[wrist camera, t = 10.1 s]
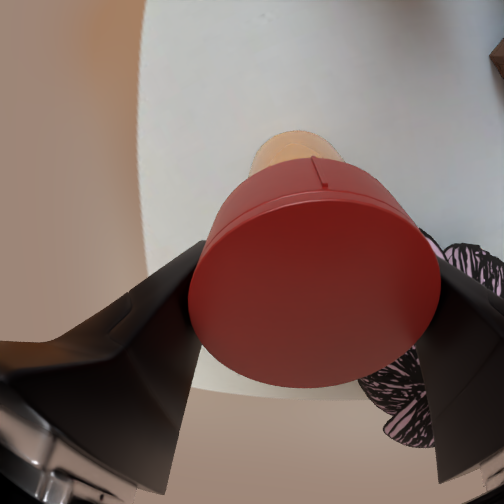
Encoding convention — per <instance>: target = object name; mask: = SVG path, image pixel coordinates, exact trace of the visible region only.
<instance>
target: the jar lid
mask: <svg viewBox="0 0 504 504" xmlns="http://www.w3.org/2000/svg"><path fill="white" fill-rule="evenodd" d="M440 291H441V276H440V268H439V264H438V261H437V258H436V255H435V253H434V251H433V249H432V247H431V245H430V244H429V242H428V240H427V239H426V238H425V236H424V235H423V234H422V232H421V231H420V230H419V228H418V227H417V226H416V224H415V223H414V222H413V220H412V219H411V218H410V217H409V215H408V214H407V213H406V212H405V210H404V209H403V208H402V207H401V206H400V204H399V203H398V202H397V201H396V199H395V198H394V197H393V196H392V195H391V194H390V192H389V191H388V190H387V189H386V188H385V187H384V186H383V185H382V184H381V183H380V182H379V181H378V180H377V179H375V178H374V177H373V176H371V175H370V174H369V173H367V172H365V171H363V170H361V169H360V168H358V167H356V166H353V165H350V164H347V163H345V162H341V161H337V160H332V159H325V158H316V157H315V156H311V158H301V159H294V160H289V161H284V162H280V163H278V164H275V165H272V166H269V167H267V168H265V169H263V170H261V171H259V172H257V173H255V174H254V175H252V176H251V177H249V178H248V179H246V180H245V181H244V182H242V183H241V184H240V185H239V186H238V187H237V188H236V189H235V190H234V191H233V192H232V193H231V194H230V195H229V197H228V198H227V199H226V201H225V202H224V203H223V205H222V207H221V208H220V210H219V212H218V214H217V216H216V218H215V221H214V223H213V226H212V228H211V231H210V233H209V236H208V238H207V241H206V243H205V246H204V248H203V251H202V253H201V256H200V258H199V261H198V263H197V266H196V268H195V271H194V274H193V277H192V280H191V283H190V286H189V293H188V311H189V316H190V320H191V324H192V326H193V329H194V331H195V334H196V335H197V337H198V339H199V340H200V342H201V343H202V345H203V346H204V347H205V348H206V349H207V351H208V352H209V353H210V354H211V355H212V356H213V357H214V358H216V359H217V360H218V361H219V362H221V363H222V364H223V365H225V366H226V367H228V368H229V369H231V370H233V371H235V372H236V373H238V374H240V375H243V376H245V377H247V378H250V379H252V380H255V381H258V382H262V383H266V384H270V385H275V386H281V387H289V388H319V387H328V386H334V385H339V384H343V383H347V382H351V381H354V380H357V379H360V378H363V377H365V376H368V375H370V374H372V373H374V372H376V371H378V370H380V369H382V368H384V367H386V366H387V365H389V364H391V363H392V362H394V361H395V360H396V359H398V358H399V357H400V356H402V355H403V354H404V353H405V352H407V351H408V350H409V349H410V348H411V347H412V346H413V345H414V344H415V343H416V342H417V340H418V339H419V338H420V337H421V336H422V334H423V333H424V332H425V330H426V329H427V327H428V326H429V324H430V322H431V320H432V318H433V316H434V314H435V311H436V308H437V305H438V302H439V297H440Z"/></svg>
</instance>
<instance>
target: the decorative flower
mask: <svg viewBox="0 0 504 504" xmlns="http://www.w3.org/2000/svg"><path fill="white" fill-rule="evenodd" d="M419 230H420V231H421V232H422V234H423V235H424V236H425V238H426V239H427V240H428V242H429V244H430V245H431V247H432V249H433V251H434V253H435V255H437V256H439V257H440V258H442V259H444V260H445V261H447V262H448V263H450V264H452V265H453V266H455V267H456V268H458V269H459V270H461V271H463V272H464V273H466V274H467V275H469V276H470V277H472V278H473V279H475V280H476V281H478V282H479V283H481V284H482V285H484V286H485V287H486V288H487V289H489V290H491V291H492V292H494V293H495V294H497V295H498V296H500V297H501V298H502V299H504V263H503V262H502V261H501V260H500V259H499V258H498V257H497V258H496V257H495V256H492V255H490V252H487V251H484V250H482V249H481V248H480V246H479V245H473V244H466V243H461V244H457V243H455V244H452V245H450V246H448V247H447V248H446V249H445V250H444V252H443V251H442V249H441V248H440V247H439V245H438V244H437V242H436V241H435V240H434V239H433V238H432V237H431V236H430V235H429V234H427V233H426V232H425V231H423V230H422V229H420V228H419ZM358 383H359V385H360V386H361V388H362V389H363V391H364V392H365V394H366V395H367V397H368V398H369V399H370V400H371V401H372V402H373V403H374V404H375V405H376V406H377V407H378V408H380V409H381V410H383V411H384V412H386V413H387V414H390V415H392V416H393V417H392V418H391V419H390V420H388V421H387V423H386V424H385V425H384V427H383V431H384V433H385V434H386V435H388V436H389V437H390V438H391V439H393V440H395V441H397V442H399V443H401V444H403V445H406V446H409V447H416V448H431V447H435V444H434V436H433V429H432V422H431V416H430V410H429V405H428V400H427V395H426V390H425V385H424V380H423V376H422V372H421V367H420V363H419V359H418V355H417V351H416V348H415V344H414V345H413V346H412V347H411V348H410V349H409V350H408V351H407V352H405V353H404V354H403V355H402V356H400V357H399V358H398V359H396V360H395V361H394V362H392V363H391V364H389V365H387V366H386V367H384V368H382V369H380V370H378V371H376V372H374V373H372V374H370V375H368V376H365V377H363V378H360V379H358Z"/></svg>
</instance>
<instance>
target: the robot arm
mask: <svg viewBox="0 0 504 504" xmlns="http://www.w3.org/2000/svg"><path fill="white" fill-rule="evenodd" d="M206 241H207V240H202V241H199V242H198V243H196V244H195V245H194V246H192V247H191V248H189V249H188V250H186V251H185V252H183V253H182V254H180V255H179V256H178V257H176V258H175V259H173V260H172V261H170V262H169V263H168V264H166V265H165V266H163V267H162V268H160V269H159V270H158V271H156V272H155V273H153V274H152V275H151V276H149V277H148V278H147V279H145V280H144V281H142V282H141V283H140V284H138V285H137V286H135V287H134V288H132V289H131V290H130V291H129V293H128V292H127V293H125V294H124V295H123V296H121V297H120V298H119V299H117V300H116V301H114V302H113V303H111V304H110V305H109V306H107V307H106V308H104V309H103V310H101V311H100V312H98V313H96V314H95V315H94V316H92V317H90V318H89V319H87V320H85V321H84V322H82V323H81V324H79V325H78V326H76V327H75V328H73V329H71V330H70V331H68V332H67V333H65V334H64V335H62V336H60V337H58V338H56V339H54V340H51V341H47V342H40V343H36V342H35V343H34V342H13V341H0V504H133V503H134V498H135V494H136V490H137V488H138V489H142V490H145V491H149V492H152V493H157V494H160V495H164V494H165V491H166V487H167V483H168V478H169V474H170V469H171V466H172V461H173V457H174V453H175V449H176V444H177V440H178V436H179V430H180V427H181V423H182V419H183V415H184V411H185V407H186V403H187V399H188V396H189V391H190V388H191V384H192V380H193V376H194V372H195V368H196V365H197V361H198V357H199V353H200V350H201V346H202V343H201V342H200V340H199V339H198V337H197V335H196V334H195V331H194V329H193V326H192V324H191V320H190V316H189V311H188V293H189V286H190V283H191V280H192V277H193V274H194V271H195V268H196V266H197V263H198V261H199V258H200V256H201V253H202V251H203V248H204V246H205V243H206ZM436 258H437V261H438V264H439V268H440V276H441V291H440V297H439V302H438V305H437V308H436V311H435V314H434V316H433V318H432V320H431V322H430V324H429V326H428V327H427V329H426V330H425V332H424V333H423V334H422V336H421V337H420V338H419V339H418V340H417V342H416V343H415V348H416V351H417V355H418V359H419V363H420V367H421V372H422V376H423V380H424V385H425V390H426V395H427V400H428V405H429V410H430V416H431V422H432V429H433V436H434V444H435V452H436V461H437V470H438V482H439V484H441V483H444V482H447V481H450V480H452V479H455V478H458V477H460V476H463V475H465V474H468V473H470V472H472V471H475V470H477V469H479V468H480V470H481V475H482V481H483V486H486V490H487V492H486V493H484V494H481V495H480V496H477V497H475V498H473V499H471V500H469V501H467V502H464V503H462V504H504V299H502V298H501V297H500V296H498V295H497V294H495V293H494V292H492V291H491V290H489V289H487V288H486V287H485V286H484V285H482V284H481V283H479V282H478V281H476V280H475V279H473V278H472V277H470V276H469V275H467V274H466V273H464V272H463V271H461V270H459V269H458V268H456V267H455V266H453V265H452V264H450V263H448V262H447V261H445V260H444V259H442V258H440V257H439V256H437V255H436Z"/></svg>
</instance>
